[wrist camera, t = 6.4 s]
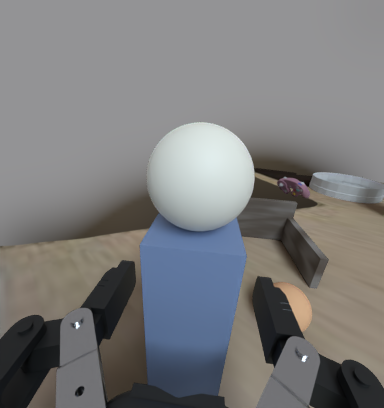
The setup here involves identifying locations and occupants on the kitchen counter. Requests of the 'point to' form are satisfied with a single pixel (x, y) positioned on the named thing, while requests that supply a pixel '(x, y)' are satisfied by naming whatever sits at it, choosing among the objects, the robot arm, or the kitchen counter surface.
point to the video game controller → (293, 187)
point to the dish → (347, 187)
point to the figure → (193, 255)
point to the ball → (297, 303)
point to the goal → (283, 234)
